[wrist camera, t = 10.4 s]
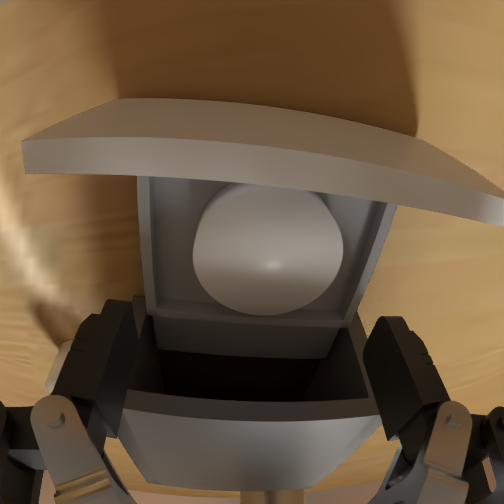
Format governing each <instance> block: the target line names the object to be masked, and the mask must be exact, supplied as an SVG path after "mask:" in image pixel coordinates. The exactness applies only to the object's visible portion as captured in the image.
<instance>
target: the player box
mask: <svg viewBox="0 0 504 504" xmlns="http://www.w3.org/2000/svg"><path fill="white" fill-rule="evenodd" d="M132 306H133V311H134V317H135V322H136V328H137V333H138V350H137V354H136V358H135V362H134V366H133V370H132V374H131V378H130V382H129V386H128V390H127V394H126V399H125V403H124V407H123V412H122V416H121V421H120V425H119V430H118V435H117V436H118V438H119V440H120V441H121V443H122V445H123V446H124V448H125V449H126V451H127V453H128V454H129V456H130V457H131V459H132V460H133V462H134V463H135V465H136V466H137V468H138V469H139V471H140V472H141V474H142V475H143V477H144V478H145V480H146V481H147V482H148V483H152V484H159V485H166V486H174V487H182V488H192V489H205V490H221V491H279V490H296V489H308V488H312V487H313V486H315V485H316V484H317V483H318V482H320V481H321V480H322V479H323V478H325V477H326V476H327V475H328V474H329V473H331V472H332V471H333V470H334V469H335V468H336V467H338V466H339V465H340V464H341V463H342V462H343V461H344V460H346V459H347V458H348V457H349V456H350V455H351V454H352V453H353V452H354V451H355V450H356V449H357V448H359V447H360V446H361V445H362V444H363V443H364V442H365V441H366V440H367V439H368V438H369V437H370V436H371V435H372V434H373V433H374V432H375V431H376V430H377V429H378V428H379V427H380V426H381V425H382V420H381V417H380V413H379V410H378V407H377V404H376V400H375V397H374V394H373V391H372V388H371V384H370V381H369V378H368V375H367V372H366V369H365V366H364V363H363V349H364V346H365V344H366V342H367V340H368V339H367V336H366V333H365V331H364V328H363V325H362V323H361V320H360V317H359V315H358V312H356V313H355V315H354V317H353V320H352V322H351V324H350V326H349V328H340V329H339V331H338V333H337V335H336V338H335V340H334V342H333V344H332V346H331V349H330V351H329V353H328V355H327V357H326V358H322V360H321V362H320V364H319V366H318V368H317V370H316V372H315V374H314V377H313V379H312V381H311V383H310V385H309V387H308V389H307V391H306V393H305V395H304V397H303V399H302V401H301V402H253V401H230V400H214V399H202V398H191V397H181V396H172V395H165V394H164V388H163V382H162V377H161V371H160V364H159V358H158V351H157V344H156V337H155V330H154V322H153V316H152V315H147V307H146V299H145V297H137V296H134V297H133V300H132Z"/></svg>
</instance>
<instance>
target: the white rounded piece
mask: <svg viewBox="0 0 504 504" xmlns="http://www.w3.org/2000/svg"><path fill="white" fill-rule="evenodd" d="M72 342H73V340H68V341H65V342H63V343H62V345H61V347H60V349H59V352H58V354H57V356H56V359H55V361H54V363H53V366H52V368H51V370H50V373H49V375H48V378H47V380H46V383H45V385H46V388H47V389H48V391H49V392H50V393H51V392H52V391H53V388H54V386H55V383H56V381H57V378H58V376H59V373H60V371H61V368H62V366H63V363H64V361H65V358H66V356H67V354H68V351H70V347H71V344H72Z"/></svg>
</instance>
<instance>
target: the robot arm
mask: <svg viewBox="0 0 504 504" xmlns="http://www.w3.org/2000/svg"><path fill="white" fill-rule="evenodd" d="M137 350H138V333H137V328H136V322H135V317H134V311H133V306H132V303H131V302H129V301H120V300H112V299H108V300H107V301H106V302H105V305H104V307H103V309H102V311H101V314H100V315H99V314H91V315H90V316H89V317H87V318H86V319H85V320H84V321H83V322H82V323H81V324H80V326H79V329H78V331H77V333H76V335H75V340H73V342H72V344H71V347H70V351H68V354H67V356H66V358H65V361H64V363H63V366H62V368H61V371H60V373H59V376H58V378H57V381H56V383H55V386H54V388H53V391H52V392H51V394H50V395H49V396H46V397H43V398H42V399H40V400H39V401H38V402H37V403H36V404H35V405H34V406H30V407H5V406H4V405H3V403H2V402H1V401H0V504H38V502H39V496H40V489H41V483H42V477H43V472H44V470H48V472H49V474H50V477H51V479H52V481H53V483H54V486H55V489H56V493H55V494H54V500H55V503H56V504H137V503H136V502H135V500H134V499H133V498H132V496H131V495H130V493H129V492H128V490H127V489H126V487H125V485H124V484H123V482H122V480H121V479H120V477H119V475H118V474H117V472H116V470H115V468H114V467H113V465H112V463H111V461H110V460H109V458H108V456H107V454H106V452H105V450H104V444H105V439H106V437H110V438H115V439H117V435H118V430H119V425H120V421H121V416H122V412H123V407H124V403H125V399H126V394H127V390H128V386H129V382H130V378H131V374H132V370H133V366H134V362H135V358H136V354H137ZM363 363H364V366H365V369H366V372H367V375H368V378H369V381H370V384H371V388H372V391H373V394H374V397H375V400H376V404H377V407H378V410H379V413H380V417H381V420H382V424H383V427H384V430H385V434H386V437H387V441H392V440H397V439H400V442H401V445H400V446H399V447H398V449H397V451H396V453H395V456H394V458H393V460H392V463H391V465H390V467H389V469H388V472H387V474H386V476H385V478H384V480H383V483H382V485H381V486H380V488H379V491H378V492H377V494H376V495H375V496H374V497H373V498H372V499H371V500H370V501H369V503H368V504H504V407H496V408H494V409H493V410H492V411H491V412H490V413H489V414H488V415H476V414H470V413H469V411H468V409H467V408H466V407H465V406H464V405H462V404H461V403H459V402H456V401H451V400H450V398H449V395H448V393H447V391H446V389H445V386H444V384H443V382H442V380H441V378H440V376H439V373H438V371H437V369H436V367H435V365H433V361H432V359H431V357H430V355H428V351H427V349H426V347H425V345H424V343H423V341H422V340H421V339H420V338H419V337H418V336H417V335H416V334H415V333H414V331H410V330H409V328H408V326H407V324H406V322H405V320H404V319H403V318H402V317H401V316H381V317H380V318H379V319H378V320H377V322H376V324H375V326H374V328H373V330H372V332H371V334H370V336H369V338H368V340H367V342H366V344H365V346H364V349H363ZM487 457H489V458H490V462H491V465H492V468H493V471H494V475H495V479H496V489H495V491H494V492H493V493H492V492H491V491H490V489H489V485H488V482H487V478H486V474H485V471H484V467H483V464H482V461H483V460H485V459H486V458H487ZM240 501H241V503H240V504H305V496H304V489H296V490H279V491H240Z"/></svg>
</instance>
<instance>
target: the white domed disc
mask: <svg viewBox="0 0 504 504" xmlns="http://www.w3.org/2000/svg"><path fill="white" fill-rule="evenodd" d="M342 257H343V240H342V236H341V232H340V230H339V227H338V225H337V223H336V221H335V220H334V218H333V216H332V214H331V213H330V211H329V209H328V207H327V206H326V204H325V203H324V201H323V200H322V198H321V197H320V196H319V195H318V194H317V193H316V192H314V191H307V190H299V189H291V188H282V187H274V186H265V185H256V184H246V183H236V182H233V183H231V184H229V185H227V186H226V187H224V188H223V189H222V190H220V191H219V192H218V193H217V194H216V195H215V196H214V197H213V198H212V199H211V200H210V201H209V203H208V204H207V206H206V207H205V209H204V210H203V212H202V215H201V217H200V220H199V224H198V228H197V233H196V237H195V242H194V246H193V265H194V269H195V273H196V275H197V277H198V280H199V281H200V283H201V285H202V286H203V288H204V289H205V290H206V291H207V293H208V294H209V295H210V296H212V297H213V298H214V299H215V300H216V301H218V302H219V303H221V304H222V305H224V306H226V307H228V308H230V309H233V310H235V311H238V312H241V313H246V314H251V315H277V314H282V313H287V312H290V311H293V310H296V309H298V308H301V307H303V306H305V305H307V304H309V303H310V302H312V301H313V300H315V299H316V298H317V297H319V296H320V295H321V294H322V293H323V292H324V291H325V290H326V289H327V288H328V287H329V286H330V284H331V283H332V282H333V280H334V279H335V277H336V275H337V273H338V271H339V268H340V265H341V262H342Z"/></svg>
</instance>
